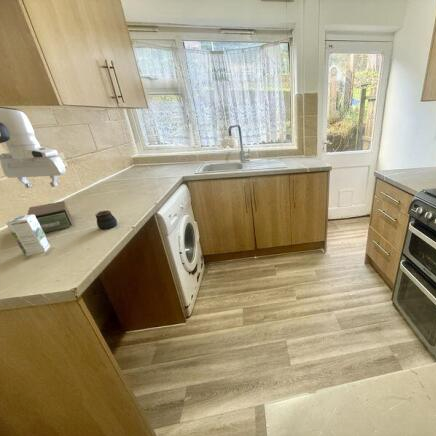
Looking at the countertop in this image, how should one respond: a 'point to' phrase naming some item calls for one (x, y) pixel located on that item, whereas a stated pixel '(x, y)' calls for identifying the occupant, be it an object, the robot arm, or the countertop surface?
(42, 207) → the cabinet
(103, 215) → the mate gourd
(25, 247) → the syrup box
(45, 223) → the drawer
